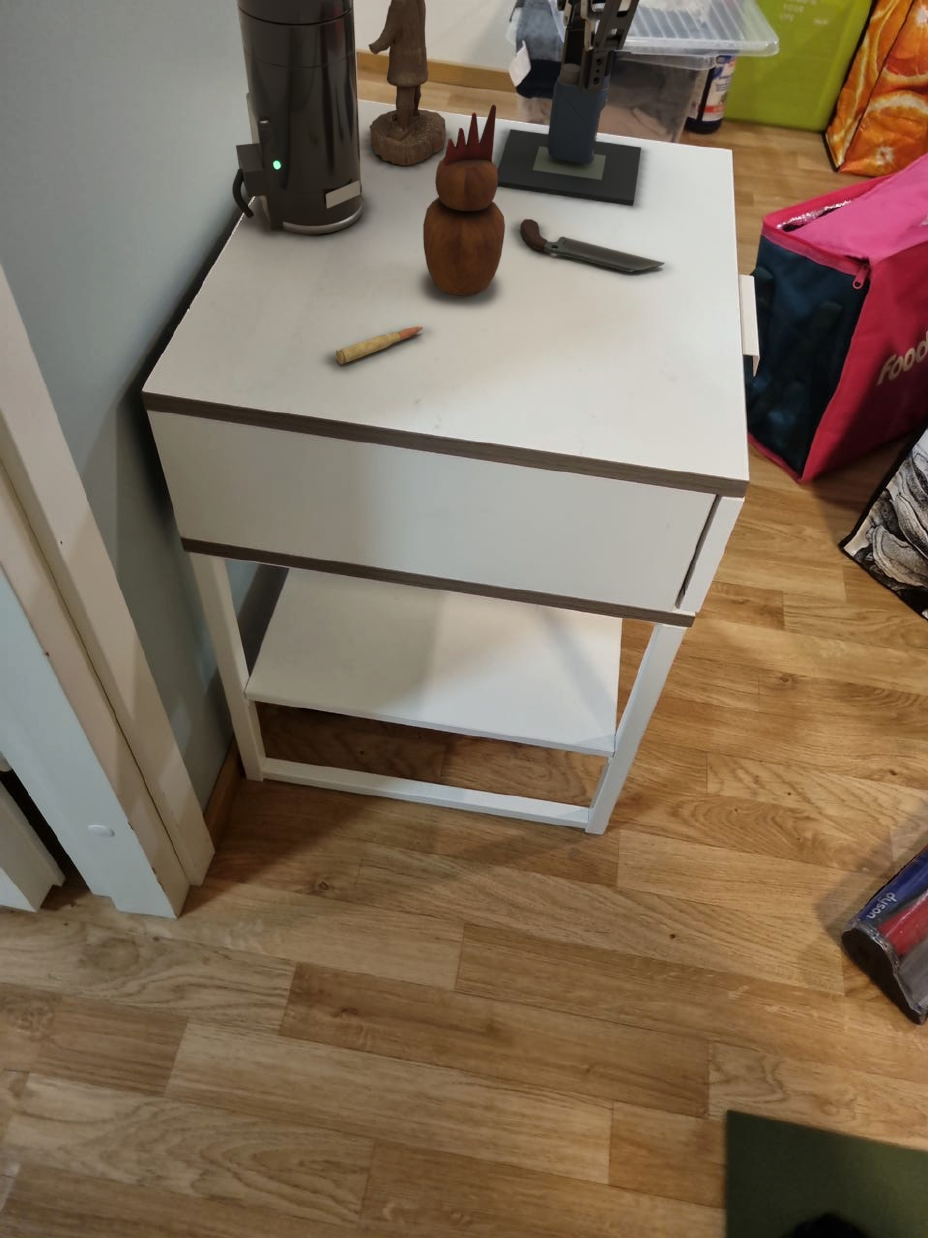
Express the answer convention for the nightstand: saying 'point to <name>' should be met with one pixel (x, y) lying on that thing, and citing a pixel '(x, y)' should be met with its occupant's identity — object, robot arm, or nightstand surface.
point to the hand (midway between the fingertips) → (580, 80)
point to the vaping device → (575, 115)
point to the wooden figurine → (465, 215)
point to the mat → (569, 169)
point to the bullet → (373, 345)
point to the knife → (585, 250)
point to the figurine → (406, 89)
